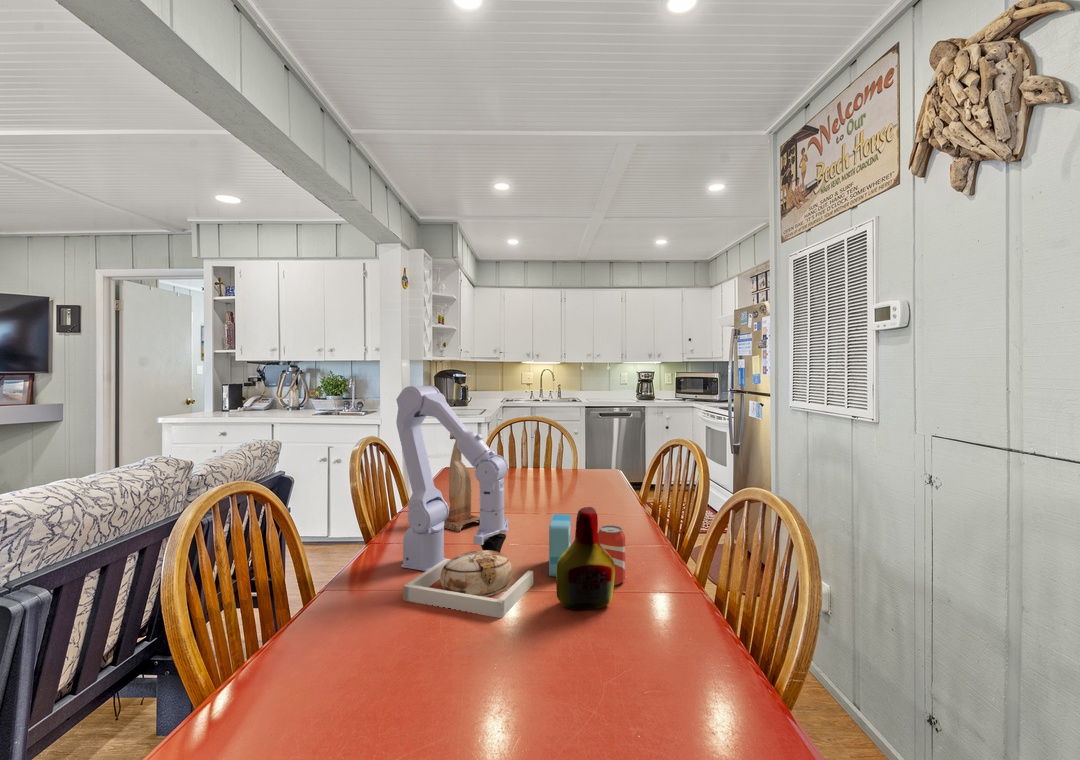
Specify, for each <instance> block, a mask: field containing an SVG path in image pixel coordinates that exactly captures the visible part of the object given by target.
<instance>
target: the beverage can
mask: <svg viewBox="0 0 1080 760" xmlns="http://www.w3.org/2000/svg"><path fill="white" fill-rule="evenodd" d="M598 539H599V543H600V545H601V546H602V547H603V548H604V549H605V550H606V551H607V552H608V553H609V555H610V556H611V557H612V559H613V561H614V567H615V577H614V586H618V585H620V584H621V583H623V582H624V581H625V580H626V535H625V533H624V531H623V528H622V526H618V525H613V524H612V525H609V524H608V525H607V524H606V525H602V526H600V527H599V530H598Z"/></svg>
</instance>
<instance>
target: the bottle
mask: <svg viewBox="0 0 1080 760" xmlns="http://www.w3.org/2000/svg"><path fill="white" fill-rule="evenodd" d="M598 518H599V517H598V514H597V510H596V509H595V508H594V507H592V506H586V507H581V508H579V510H578V512H577V515H576V521H575V533H574V534H575V535H574V541H573V542H572V543H571V546H570V547H568V548H567V550H566V551H565V552H564V553H563V554H562V555H561V557H560V558H559V560H558V562H557V567H556V577H555V582H556V583H555V587H556V598H557V599H558V601H559V603H561V605H563V606H564V607H566V608H567V609H569V610H593V609H594V610H596V609H603V608H604V607H605V606H608V605H609V604H610V602H611V601H612V598H613V595H614V587H615V585H614V577H615V567H614V561H613V559H612V557H611V556H610V555H609V553H608V552H607V551H606V550H605V549H604V548H603V547H602V546H601V545H600V543H599V539H598V532H599V530H598V527H599V519H598Z"/></svg>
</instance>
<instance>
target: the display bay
mask: <svg viewBox="0 0 1080 760" xmlns="http://www.w3.org/2000/svg"><path fill="white" fill-rule="evenodd" d="M450 559H451V558H446V559H444V560H443V561H441V562H440V563H438V564H436V565H435V566H433V567H432V568H430V569H429V570H427V571H423V573H421V574H420V575H418V576H416V577H415V578H413V579H412V580H410V581H409V582H407V583H406V584H404V585H403V589H402V590H403V592H402V593H403V597H402V598H403V601H405V602H410V603H415V604H421V605H426V604H427V606H432V605H433V606H432V607H437V606H439V607H438V608H443V607H445V608H444V609H448V608H451V609H450V610H454V609H456V610H455V611H459V610H461V611H460V612H465V611H468V612H467V613H470V612H472V613H471V614H476V613H477V615H483V616H487V617H492V618H499V619H502V618H504V616H506V614H507V613H508V612H509V611H510V609H512V608H513V607H514V606H515V605H516V603H518V601H519V600H520V599H521V598H522V597H523V596H524V595H525V594H526V593H527V592H528V591H529V590H530V589H531V588H532V587H533V585H534V571H533V570H527V571H526V572H525V573H524V574H523V575H522V576H521V577H520V578H519V579H517V581H515V583H513V585H512V586H510V587H509V588H508V590H506V591H505V592H504V593H503V594H502V595H501V596H500V597H499V598H492V597H489V596H488V597H482V596H476V595H470V594H464V593H458V592H452V591H447V590H443V589H441V588H435V587H431V586H432V585H433V584H435V583H437V582H438V581H439V580H440V576H441V571H442V569H443V567H444V566H445V565H446V564H447V563H448V562H449V561H450Z"/></svg>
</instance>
